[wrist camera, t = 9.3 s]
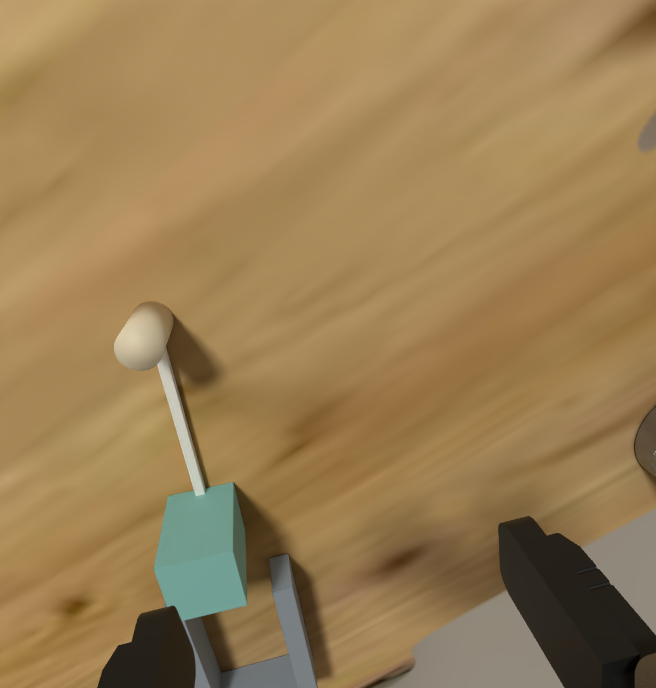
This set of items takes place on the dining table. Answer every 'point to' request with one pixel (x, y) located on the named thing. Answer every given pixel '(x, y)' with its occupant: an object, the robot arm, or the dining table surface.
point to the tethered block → (188, 495)
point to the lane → (271, 675)
